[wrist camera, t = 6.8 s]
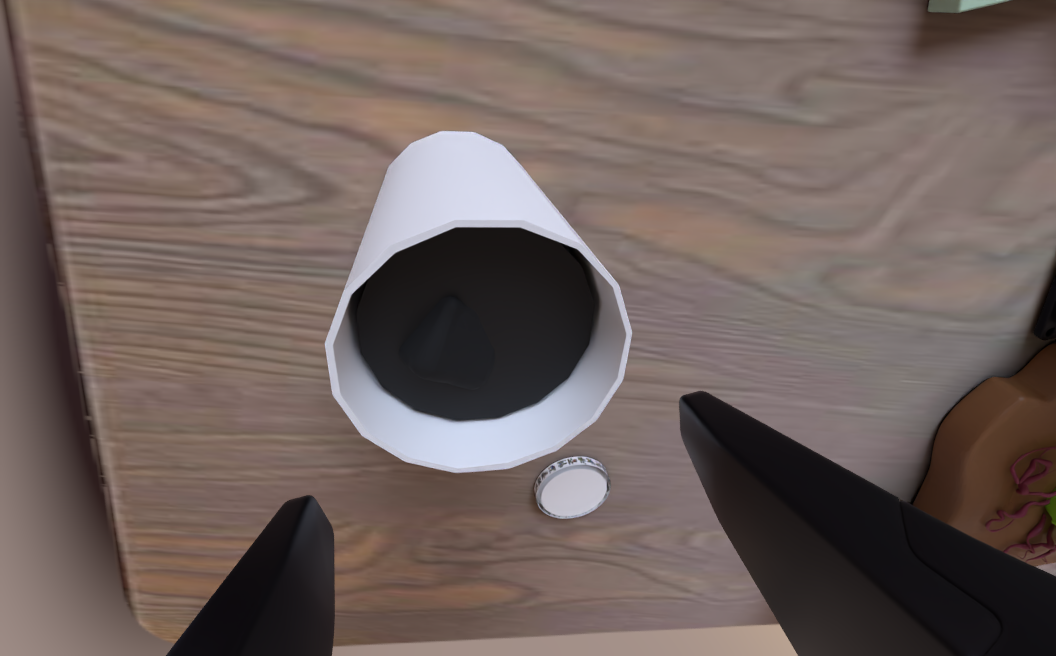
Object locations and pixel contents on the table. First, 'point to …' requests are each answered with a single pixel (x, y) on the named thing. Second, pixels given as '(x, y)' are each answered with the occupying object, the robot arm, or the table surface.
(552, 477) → the washi tape
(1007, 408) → the plant
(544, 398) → the white cup
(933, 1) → the scale
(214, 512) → the table surface
